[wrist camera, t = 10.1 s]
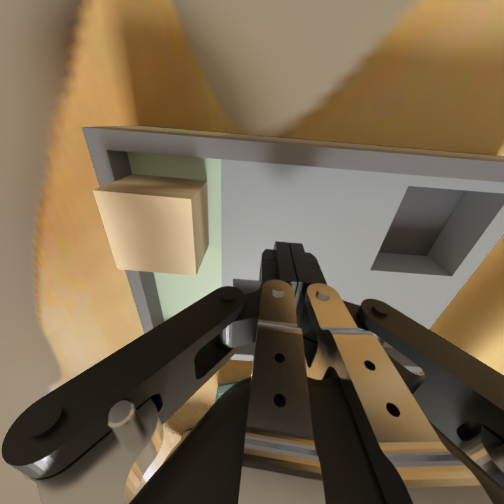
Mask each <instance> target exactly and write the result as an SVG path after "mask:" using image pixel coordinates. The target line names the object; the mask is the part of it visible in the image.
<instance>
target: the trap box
mask: <svg viewBox="0 0 504 504" xmlns="http://www.w3.org/2000/svg"><path fill="white" fill-rule="evenodd" d="M82 130H83V133H84V137H85V140H86V143H87V146H88V150H89V153H90V156H91V160H92V163H93V166H94V169H95V173H96V176H97V179H98V183H99V186H100V187H102V186H105V185H107V184H109V183H112V182H114V181H117V180H119V179H122V178H124V177H127V176H129V175H131V174H139V175H150V176H161V177H172V178H182V179H193V180H204V181H207V189H208V226H209V246H208V248H207V251H206V253H205V256H204V258H203V261H202V263H201V266H200V268H199V270H198V273H197V275H196V276H194V275H182V274H170V273H158V272H146V271H134V270H125V271H126V275H127V278H128V281H129V284H130V288H131V291H132V294H133V298H134V301H135V304H136V307H137V311H138V314H139V317H140V321H141V324H142V327H143V330H144V334H145V333H147V332H148V331H150V330H152V329H153V328H155V327H156V326H158V325H160V324H161V323H163V322H164V321H166V320H168V319H169V318H171V317H172V316H174V315H176V314H177V313H179V312H180V311H182V310H184V309H185V308H187V307H188V306H190V305H192V304H193V303H195V302H197V301H198V300H200V299H201V298H203V297H205V296H206V295H208V294H209V293H211V292H213V291H214V290H216V289H218V288H220V287H224V286H232V287H236V288H238V289H240V290H241V291H242V292H243V293H244V294H248V293H252V292H255V291H257V290H258V289H259V274H260V266H261V257H262V253H263V252H264V250H265V249H272V250H274V244H275V241H279V242H288V243H289V242H291V243H302V244H303V247H304V250H305V252H307V253H311V254H313V255H314V256H315V257H316V258H317V261H318V263H319V266H320V268H321V270H322V273H323V275H324V278H325V280H326V283H327V285H328V286H330V287H332V288H334V289H335V290H336V291H337V292H338V293H339V295H340V297H341V299H342V300H344V301H347V302H350V303H353V304H356V305H361V303H362V301H363V300H365V299H376V300H380V301H382V302H385V303H386V304H388V305H390V306H391V307H393V308H395V309H396V310H398V311H400V312H401V313H403V314H404V315H406V316H408V317H409V318H411V319H413V320H414V321H416V322H417V323H419V324H421V325H422V326H424V327H426V328H427V329H430V328H431V326H432V325H433V324H434V323H435V321H436V320H437V319H438V317H439V316H440V315H441V314H442V312H443V311H444V310H445V309H446V307H447V306H448V305H449V303H450V302H451V301H452V300H453V298H454V297H455V296H456V294H457V293H458V292H459V291H460V289H461V288H462V287H463V285H464V284H465V283H466V282H467V280H468V279H469V278H470V277H471V275H472V274H473V273H474V271H475V270H476V269H477V268H478V266H479V265H480V264H481V262H482V261H483V260H484V259H485V257H486V256H487V255H488V254H489V252H490V251H491V250H492V248H493V247H494V246H495V245H496V243H497V242H498V241H499V239H500V238H501V237H502V236H503V234H504V157H503V156H496V155H484V154H472V153H460V152H448V151H436V150H424V149H412V148H400V147H388V146H376V145H364V144H352V143H340V142H328V141H316V140H304V139H292V138H280V137H268V136H256V135H244V134H232V133H220V132H208V131H196V130H184V129H172V128H161V127H149V126H107V127H82ZM254 345H255V343H251V344H247V345H242V346H241V347H240V349H239V350H238V351H237V352H236V353H235V354H234V355H233V356H232V357H231V358H230V360H244V361H253V354H254ZM383 349H384V350H385V352H386V353H387V354H388V355H390V356H391V357H392V358H393V359H395V360H396V361H397V362H399V363H400V364H401V365H403V366H404V367H405V368H406V369H408V370H409V371H410V372H416V373H421V372H422V371H423V370H422V369H421V368H420V367H419V366H418V365H416V364H415V363H414V362H412V361H411V360H409V359H408V358H407V357H405V356H404V355H403V354H401V353H400V352H399V351H397V350H396V349H395V348H393V347H392V346H390V345H389V344H388V343H385V345H384V346H383Z"/></svg>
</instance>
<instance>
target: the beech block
mask: <svg viewBox="0 0 504 504" xmlns="http://www.w3.org/2000/svg"><path fill="white" fill-rule="evenodd" d="M93 192H94V195H95V199H96V202H97V205H98V208H99V211H100V215H101V218H102V221H103V224H104V227H105V231H106V234H107V237H108V240H109V243H110V247H111V250H112V253H113V256H114V259H115V263H116V266H117V269H123V270H134V271H146V272H158V273H170V274H182V275H194V276H196V275H197V273H198V270H199V268H200V266H201V263H202V261H203V258H204V256H205V253H206V251H207V248H208V246H209V226H208V189H207V181H204V180H193V179H182V178H172V177H161V176H150V175H139V174H131V175H129V176H127V177H124V178H122V179H119V180H117V181H114V182H112V183H109V184H107V185H105V186H102V187H100V188H97V189H95V190H93Z"/></svg>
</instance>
